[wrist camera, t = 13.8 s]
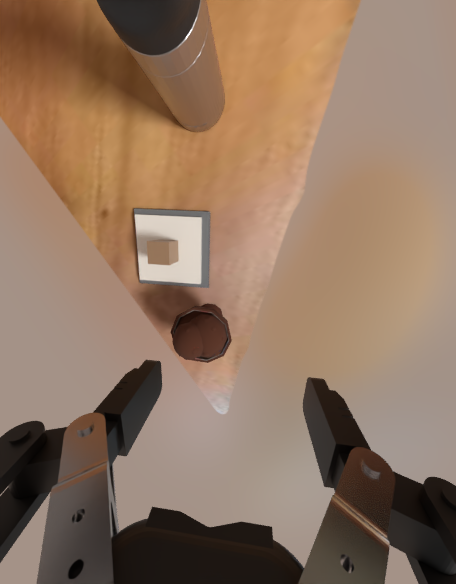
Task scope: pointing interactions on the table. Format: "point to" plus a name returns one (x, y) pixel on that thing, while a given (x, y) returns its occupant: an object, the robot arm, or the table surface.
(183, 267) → the lid
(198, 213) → the mat
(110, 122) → the table surface
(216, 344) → the ice cream bowl
